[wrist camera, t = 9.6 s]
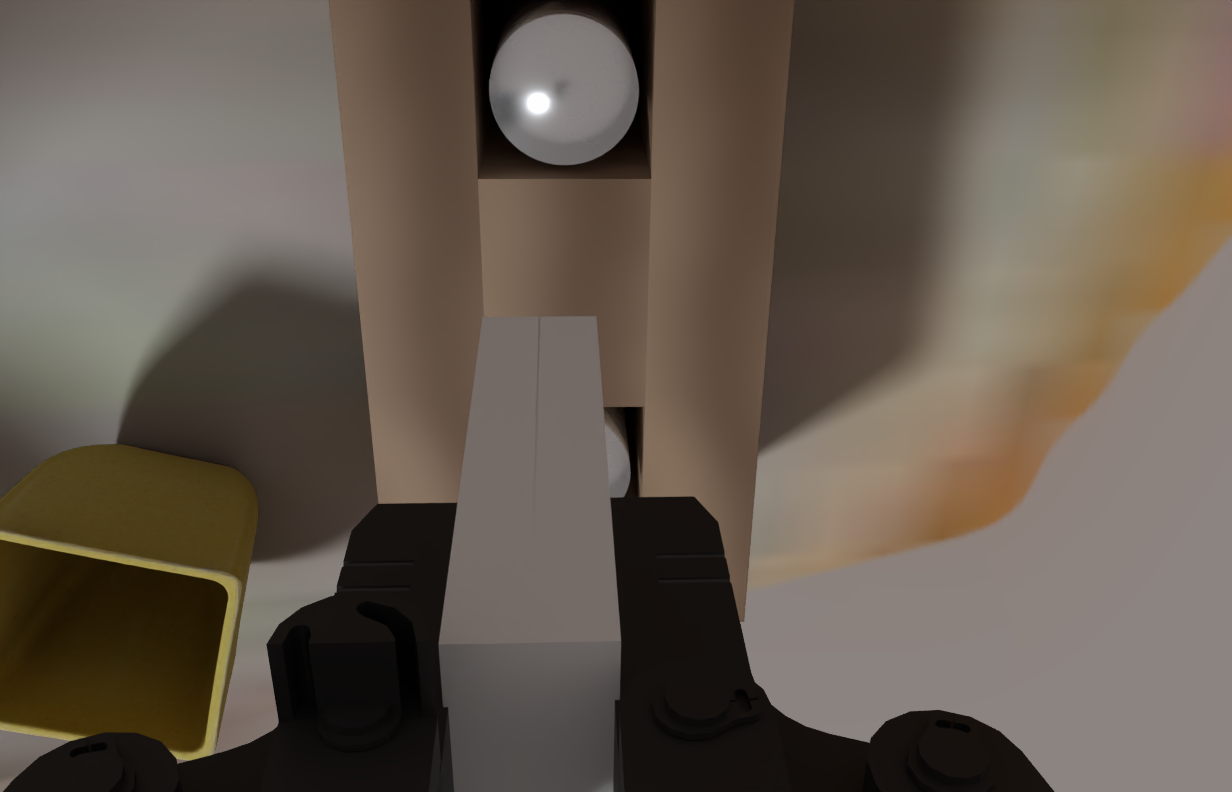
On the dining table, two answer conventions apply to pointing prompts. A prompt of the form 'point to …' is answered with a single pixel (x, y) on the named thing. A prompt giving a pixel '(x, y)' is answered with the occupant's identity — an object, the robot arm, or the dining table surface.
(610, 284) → the tan grooved block
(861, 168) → the dining table surface
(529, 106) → the peg
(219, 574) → the flower pot
